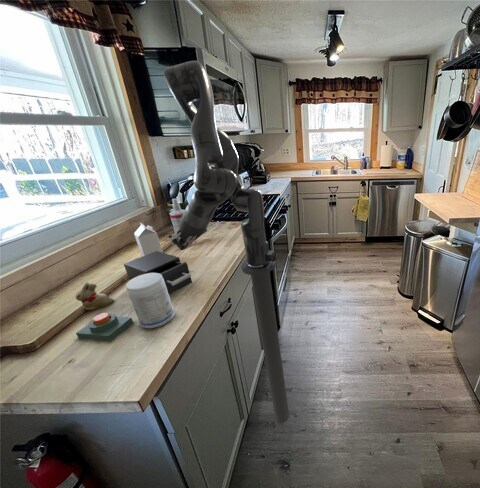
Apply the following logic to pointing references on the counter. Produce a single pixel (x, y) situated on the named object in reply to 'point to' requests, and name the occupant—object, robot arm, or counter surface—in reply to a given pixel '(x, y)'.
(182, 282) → the drawer
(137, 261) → the small drawer cabinet
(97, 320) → the button
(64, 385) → the counter surface
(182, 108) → the robot arm
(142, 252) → the milk carton
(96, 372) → the counter surface
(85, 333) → the block
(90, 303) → the chocolate bunny
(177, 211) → the spray bottle
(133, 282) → the supplement tub
